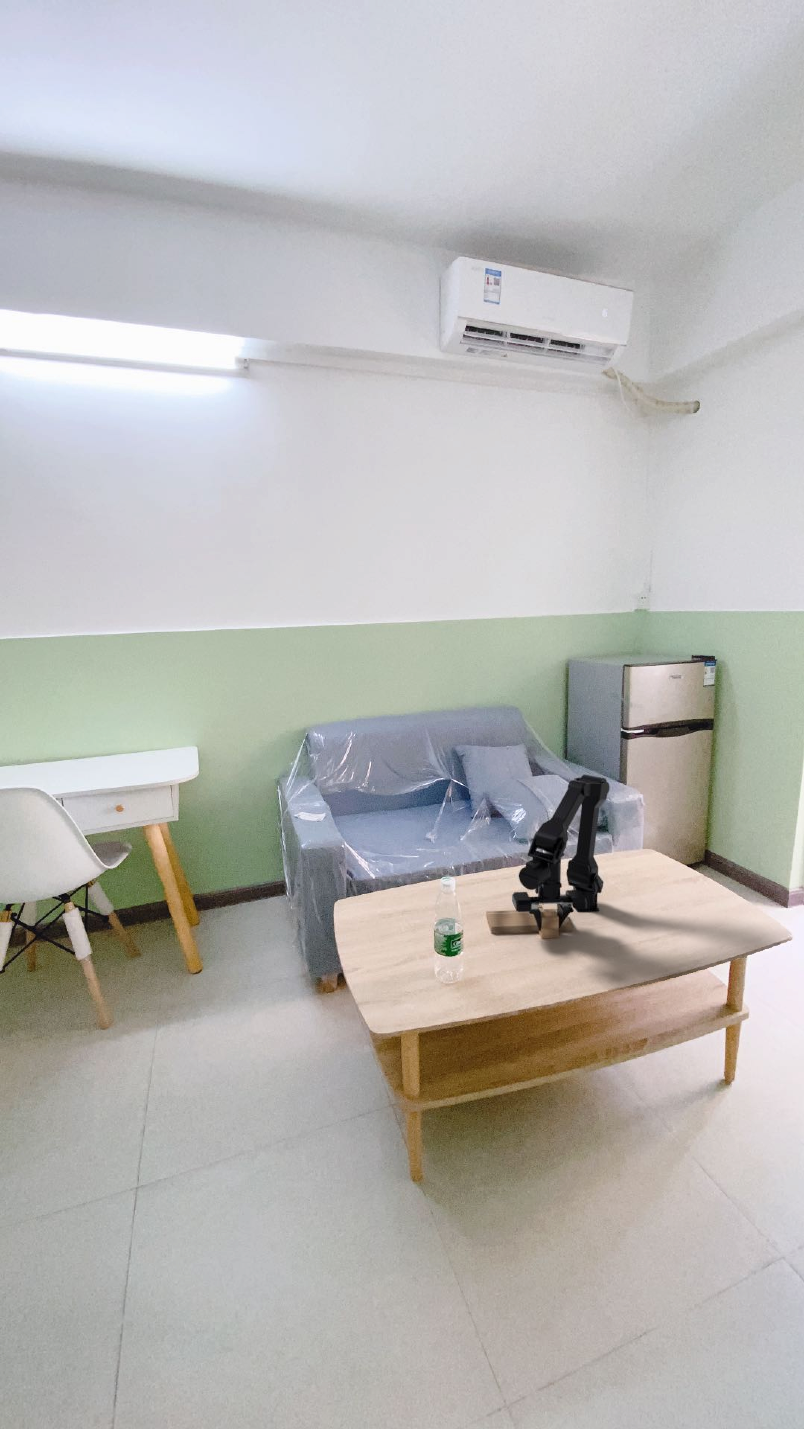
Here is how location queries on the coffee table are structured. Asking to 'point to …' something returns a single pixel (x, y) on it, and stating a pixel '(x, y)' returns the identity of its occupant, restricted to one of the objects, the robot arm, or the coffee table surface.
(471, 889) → the coffee table surface
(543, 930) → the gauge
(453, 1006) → the coffee table surface
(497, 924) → the board
